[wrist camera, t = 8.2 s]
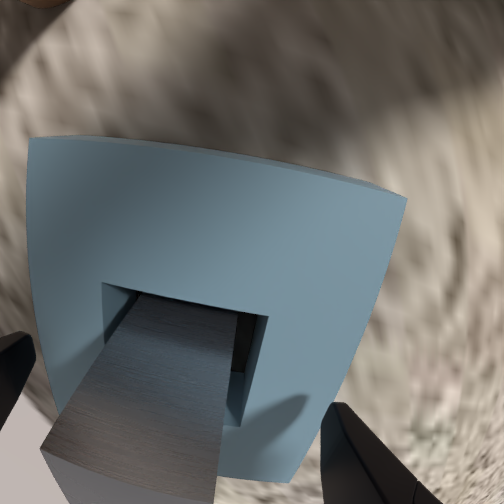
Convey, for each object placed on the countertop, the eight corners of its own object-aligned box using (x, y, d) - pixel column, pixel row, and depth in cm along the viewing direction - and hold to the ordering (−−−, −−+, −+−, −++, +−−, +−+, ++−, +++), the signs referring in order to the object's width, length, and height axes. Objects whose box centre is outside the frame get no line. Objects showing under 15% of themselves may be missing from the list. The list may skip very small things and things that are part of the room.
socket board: (369, 182, 10) (407, 198, 7) (286, 434, 14) (288, 483, 11) (81, 134, 10) (29, 137, 7) (89, 392, 14) (65, 433, 11)
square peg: (241, 287, 11) (213, 503, 4) (227, 354, 12) (198, 547, 5) (159, 270, 11) (39, 448, 4) (154, 337, 12) (74, 511, 5)
